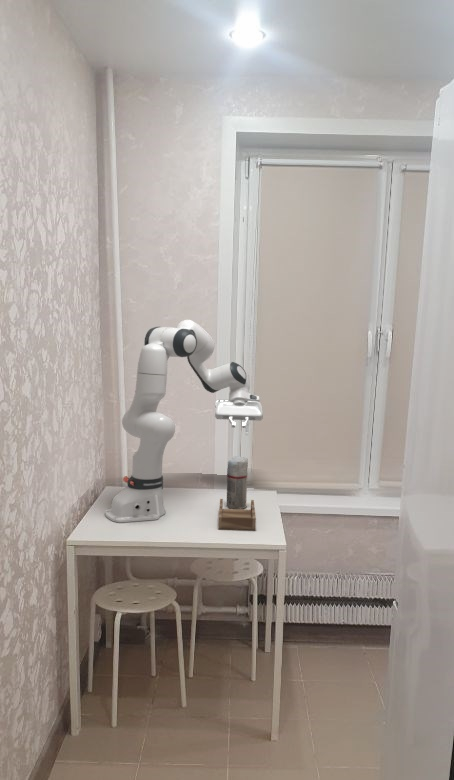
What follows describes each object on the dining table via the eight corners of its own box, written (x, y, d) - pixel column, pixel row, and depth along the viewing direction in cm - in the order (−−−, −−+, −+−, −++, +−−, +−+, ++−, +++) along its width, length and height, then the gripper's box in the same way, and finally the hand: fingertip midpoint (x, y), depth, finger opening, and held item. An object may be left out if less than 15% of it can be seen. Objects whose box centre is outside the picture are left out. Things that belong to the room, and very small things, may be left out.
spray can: (246, 510, 234) (248, 460, 232) (225, 509, 235) (227, 459, 232) (246, 503, 243) (248, 455, 241) (226, 503, 243) (227, 454, 241)
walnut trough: (219, 510, 234) (220, 498, 233) (253, 511, 234) (253, 499, 233) (218, 529, 212) (218, 517, 211) (255, 530, 212) (255, 518, 211)
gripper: (215, 395, 257) (213, 421, 248) (263, 396, 257) (263, 423, 248) (215, 404, 262) (213, 430, 253) (262, 405, 262) (262, 432, 253)
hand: (238, 426), depth 251 cm, fingers open, 3 cm apart
